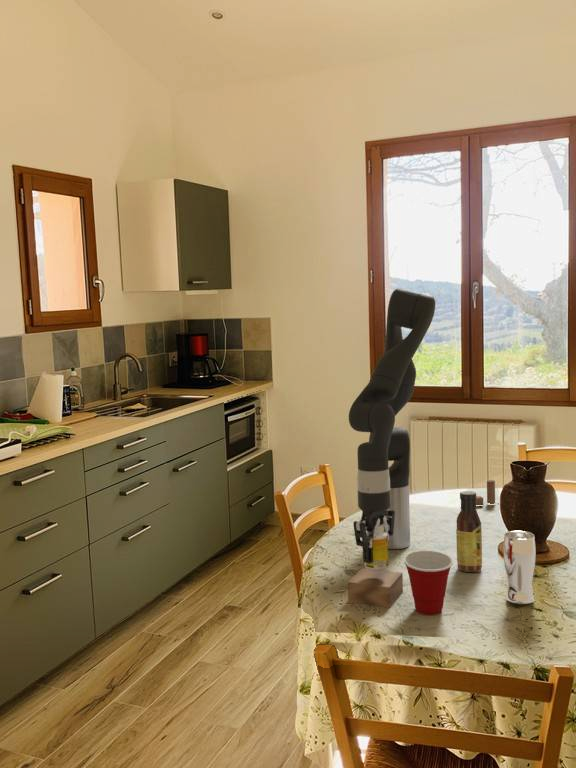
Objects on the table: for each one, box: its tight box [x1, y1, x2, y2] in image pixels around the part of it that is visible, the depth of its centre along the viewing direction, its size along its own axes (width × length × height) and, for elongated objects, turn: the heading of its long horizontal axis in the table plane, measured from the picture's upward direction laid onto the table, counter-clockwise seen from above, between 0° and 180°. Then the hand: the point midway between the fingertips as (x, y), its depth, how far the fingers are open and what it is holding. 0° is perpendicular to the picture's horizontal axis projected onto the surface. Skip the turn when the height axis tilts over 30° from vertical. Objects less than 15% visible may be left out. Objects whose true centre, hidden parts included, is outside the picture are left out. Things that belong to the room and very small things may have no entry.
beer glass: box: [503, 530, 537, 605], centre depth 170 cm, size 7×7×15 cm
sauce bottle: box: [455, 490, 483, 574], centre depth 191 cm, size 6×6×20 cm
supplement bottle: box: [363, 524, 389, 571], centre depth 174 cm, size 6×6×10 cm
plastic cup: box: [403, 549, 454, 616], centre depth 166 cm, size 11×11×12 cm
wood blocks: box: [476, 479, 496, 506], centre depth 242 cm, size 25×3×10 cm, turn 96°
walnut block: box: [347, 567, 404, 609], centre depth 175 cm, size 10×10×5 cm
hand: (375, 558), depth 175 cm, fingers closed on supplement bottle, 5 cm apart
